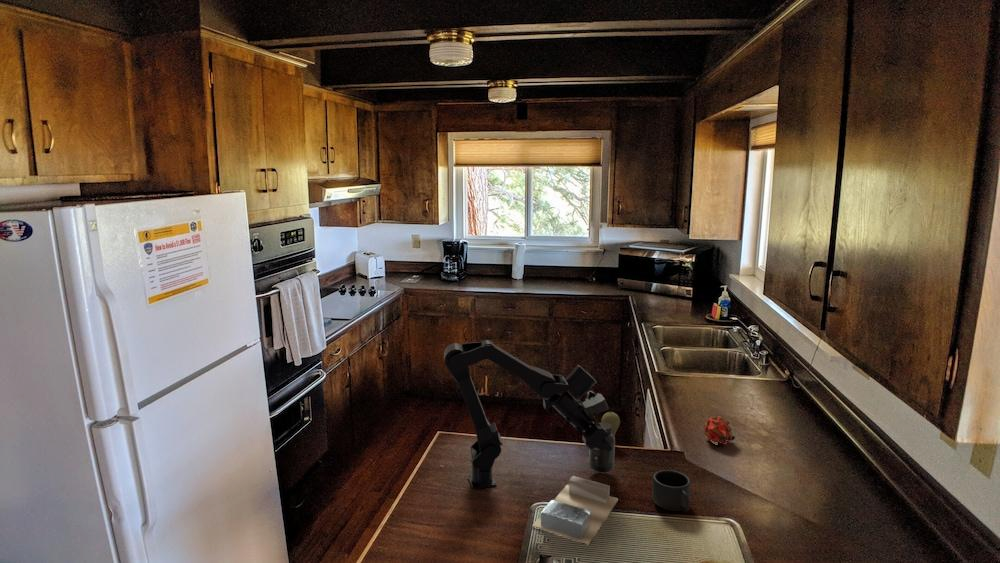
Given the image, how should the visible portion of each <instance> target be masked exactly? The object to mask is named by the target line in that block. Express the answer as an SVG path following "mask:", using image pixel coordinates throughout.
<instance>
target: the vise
mask: <svg viewBox="0 0 1000 563" xmlns="http://www.w3.org/2000/svg"><path fill="white" fill-rule="evenodd" d="M568 481H569V482H568V484H566V485H565V486H564V488H562V490H560V492H559V493H558V494H557V496H556V497H555V498H554V499H553V500H554V501H558V502H561V503H564V504H568V505H571V506H575V507H578V508H582V509H585V510H588V511H591V525H590V527H589V528H588V529H587V531H586V532H585V534H584V535H583V537H582V538H577V537H574V536H571V535H568V534H565V533H562V532H559V531H555V530H552V529H549V528H546V527H543V526H541V515H540V516H539V517H538V518H537V519H536V520H535V522H533V524H532V526H534V527H536V528H539V529H541V530H545V531H549V532H552V533H554V534H557V535H561V536H564V537H566V538H569V539H572V540H575V541H579V542H582V543H585V544H588V545H589V544H591V543H592V542H591V541H593V540H594V538H595V537H596V535H597V534H598V532H599V531H600V529H601V528H600V527H602V526H603V525H604V523H605V522H606V520H607V519H608V517H609V515H610V514H611V512H612V510H613V509H614V508H615V506H616V504H617V503H618V502H619V498H618V497H615V496H611V495H610V490H611V489H610V484H609V485H608V484H606V483H601V482H597V481H593V480H590V479H587V478H582V477H578V476H575V475H572V476H571V477H570V479H569V480H568ZM604 521H605V522H604ZM602 524H603V525H602ZM532 526H531V527H532ZM541 530H540V531H541ZM598 530H599V531H598ZM597 531H598V532H597ZM596 533H597V534H596ZM554 534H553V535H554ZM557 535H556V536H557ZM594 536H595V537H594ZM566 538H565V539H566ZM569 539H568V540H569ZM592 539H593V540H592ZM572 540H571V541H572ZM575 541H574V542H575ZM590 542H591V543H590ZM585 544H584V545H585ZM588 545H587V546H588ZM589 546H590V545H589Z"/></svg>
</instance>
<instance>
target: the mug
mask: <svg viewBox="0 0 1000 563" xmlns="http://www.w3.org/2000/svg"><path fill="white" fill-rule="evenodd" d="M691 483H692V482H691V479H690V477H689V476H688V475H686V474H684V473H682V472H680V471H677V470H672V469H664V470H663V469H662V470H658V471H656V472H655V473H654V474H653V475H652V490H651V492H652V499H653V501H654V503H655V504H656V505H657V506H658V507H660V508H661V509H663V510H667V511H672V512H677V511H679V512H680V511H684V512H689V511H690V508H691V507H690V506H691V505H690V501H691V500H690V499H691V497H690V496H691V487H692V486H691Z"/></svg>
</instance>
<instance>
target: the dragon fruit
mask: <svg viewBox="0 0 1000 563" xmlns="http://www.w3.org/2000/svg"><path fill="white" fill-rule="evenodd" d="M703 429H704V431H703V435H704V434H705V435H706V436H707V437H708V438H709V439H710V440H712V441H714V442H721V443H722V444H725V445H726V444H728V441H731V442H732V441H734V440H735V438H736V436H735V435H733V433H732V431H733V429H732V427H731V426H730V421H729V420H726V419H724V418H723V417H722V416H719V415H718V416H712V417H709V418H708V419H707V420H706V421H705V422H704V425H703ZM709 439H708V440H709ZM710 440H709V441H710ZM726 440H728V441H726ZM722 444H721V445H722Z"/></svg>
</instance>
